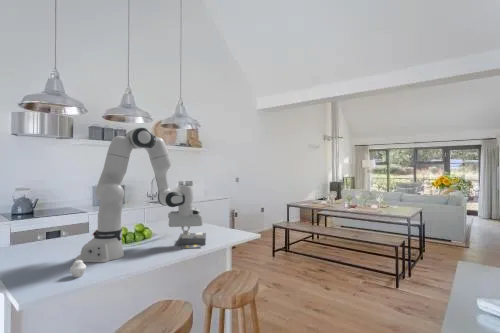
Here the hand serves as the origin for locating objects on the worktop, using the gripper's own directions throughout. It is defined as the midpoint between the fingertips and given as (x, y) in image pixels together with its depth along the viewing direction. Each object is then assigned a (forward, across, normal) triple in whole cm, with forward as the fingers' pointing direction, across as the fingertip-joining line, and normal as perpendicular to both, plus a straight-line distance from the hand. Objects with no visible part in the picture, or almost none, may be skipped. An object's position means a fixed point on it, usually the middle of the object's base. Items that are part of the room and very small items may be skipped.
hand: (185, 233), depth 176 cm
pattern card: (+6, +4, -8) cm, 11 cm away
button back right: (+5, +8, +7) cm, 11 cm away
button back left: (+3, 0, +7) cm, 8 cm away
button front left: (+3, 0, 0) cm, 3 cm away
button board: (+6, +4, +3) cm, 8 cm away
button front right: (+3, +8, 0) cm, 8 cm away
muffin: (+6, -41, -47) cm, 62 cm away
